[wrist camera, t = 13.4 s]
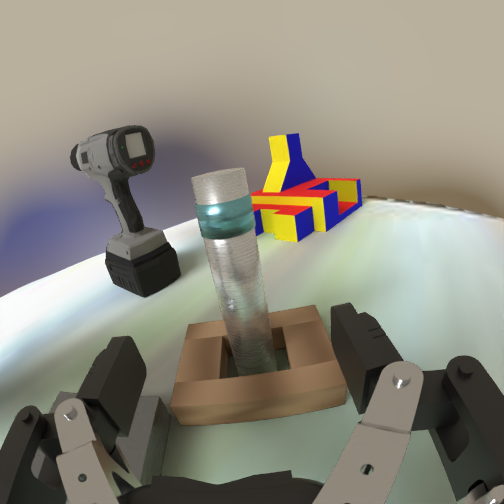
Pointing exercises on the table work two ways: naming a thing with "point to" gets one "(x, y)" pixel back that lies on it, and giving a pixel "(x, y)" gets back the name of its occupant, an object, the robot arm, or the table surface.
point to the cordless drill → (128, 209)
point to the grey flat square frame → (133, 438)
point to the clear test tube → (236, 266)
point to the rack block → (261, 385)
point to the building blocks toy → (300, 195)
